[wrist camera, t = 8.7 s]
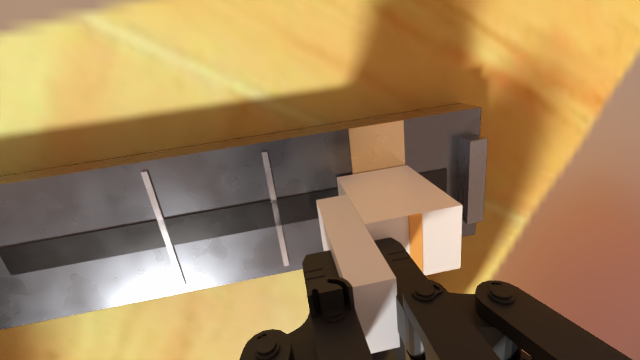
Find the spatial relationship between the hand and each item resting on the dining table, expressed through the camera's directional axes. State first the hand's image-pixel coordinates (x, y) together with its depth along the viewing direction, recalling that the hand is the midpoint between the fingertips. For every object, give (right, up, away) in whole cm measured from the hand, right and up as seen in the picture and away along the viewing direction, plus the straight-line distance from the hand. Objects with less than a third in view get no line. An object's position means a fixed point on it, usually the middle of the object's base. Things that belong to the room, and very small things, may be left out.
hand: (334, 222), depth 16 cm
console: (-5, +1, +4) cm, 7 cm away
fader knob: (+2, +1, +2) cm, 4 cm away
